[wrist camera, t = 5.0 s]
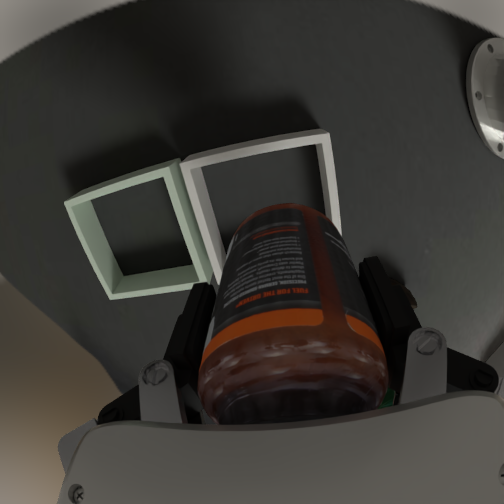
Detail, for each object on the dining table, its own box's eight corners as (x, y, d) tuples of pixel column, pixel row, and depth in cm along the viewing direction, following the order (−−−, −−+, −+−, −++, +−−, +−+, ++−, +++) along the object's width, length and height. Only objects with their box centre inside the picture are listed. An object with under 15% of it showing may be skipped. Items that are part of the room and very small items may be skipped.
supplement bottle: (206, 254, 16) (136, 467, 6) (285, 173, 13) (308, 419, 3) (286, 313, 17) (286, 505, 8) (365, 251, 15) (440, 459, 5)
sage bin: (180, 157, 22) (168, 166, 19) (214, 266, 26) (209, 286, 24) (81, 190, 23) (63, 202, 20) (121, 281, 28) (110, 299, 25)
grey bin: (320, 128, 20) (329, 133, 18) (335, 245, 25) (343, 264, 22) (189, 154, 21) (179, 163, 19) (222, 265, 26) (218, 284, 24)
